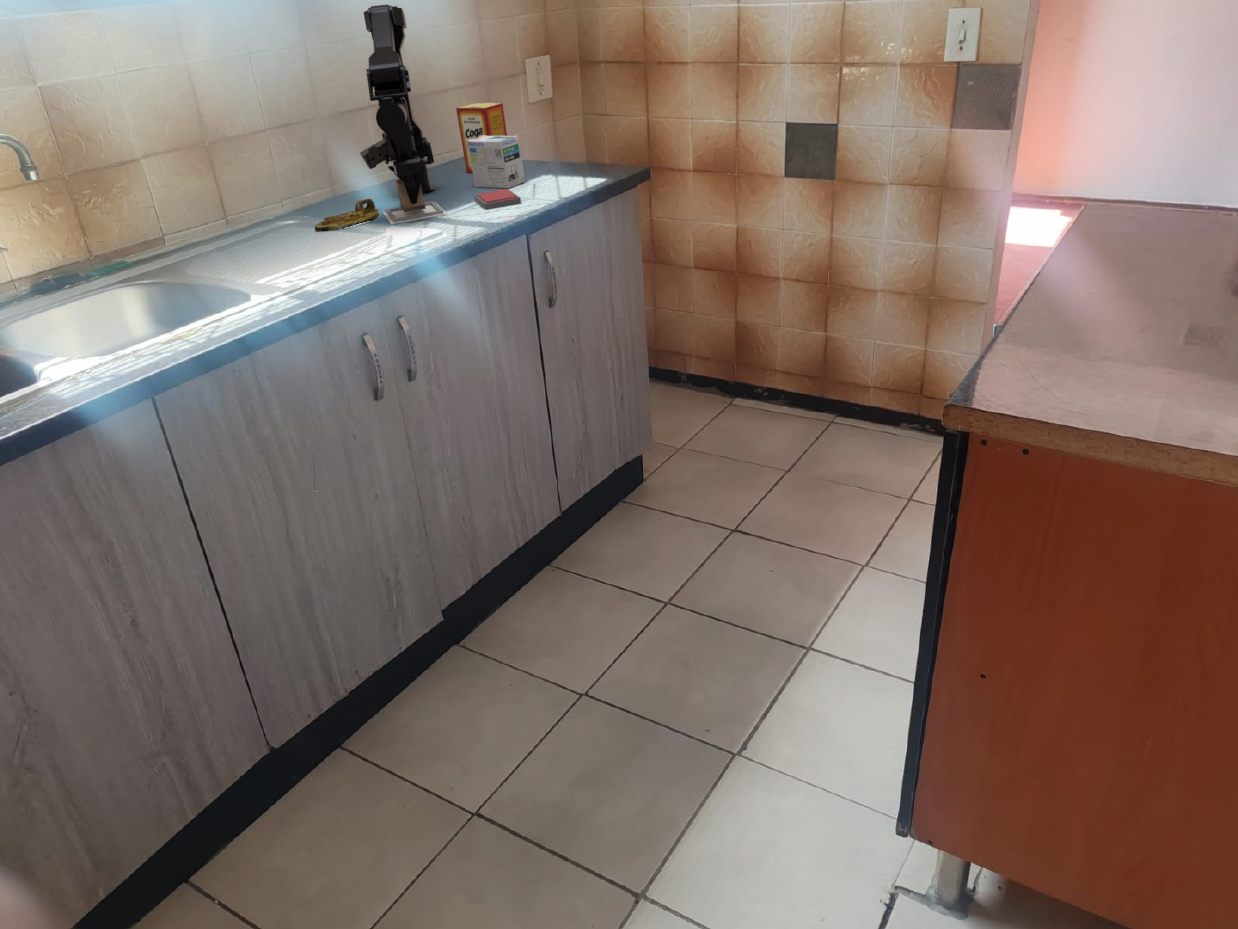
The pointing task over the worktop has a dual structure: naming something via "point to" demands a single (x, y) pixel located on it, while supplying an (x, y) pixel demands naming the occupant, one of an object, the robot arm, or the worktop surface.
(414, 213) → the frame
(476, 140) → the light bulb box
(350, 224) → the seal
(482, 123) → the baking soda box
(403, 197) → the brown cardboard box
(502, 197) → the ink pad
